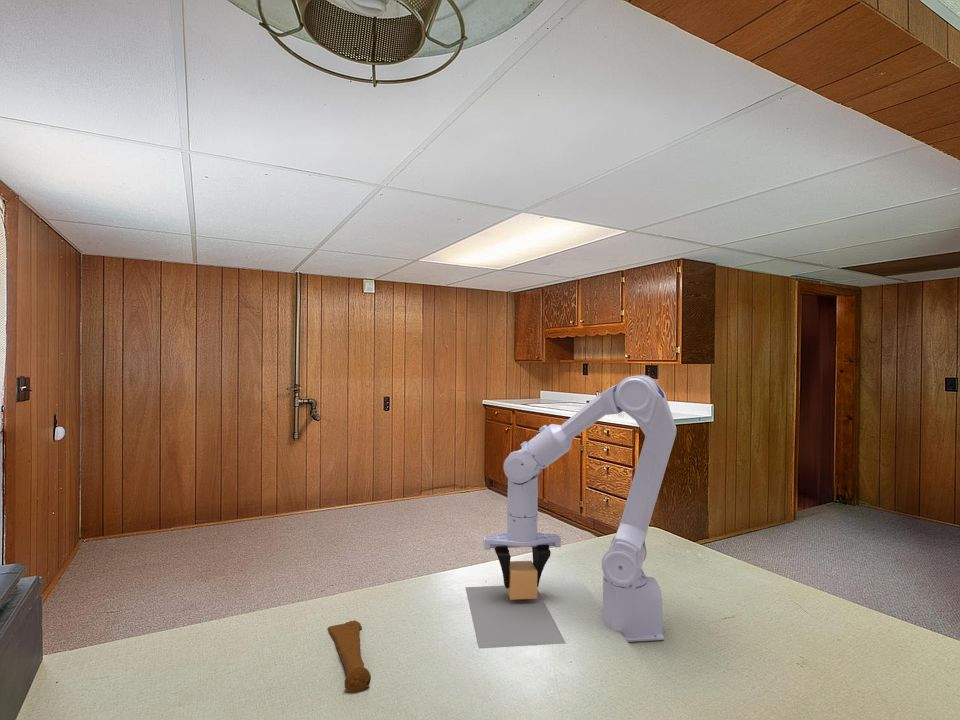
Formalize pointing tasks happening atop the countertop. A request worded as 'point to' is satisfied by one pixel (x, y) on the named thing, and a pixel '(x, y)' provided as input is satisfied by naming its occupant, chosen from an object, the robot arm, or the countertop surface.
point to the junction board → (510, 619)
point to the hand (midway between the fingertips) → (521, 585)
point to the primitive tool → (351, 655)
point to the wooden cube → (522, 580)
